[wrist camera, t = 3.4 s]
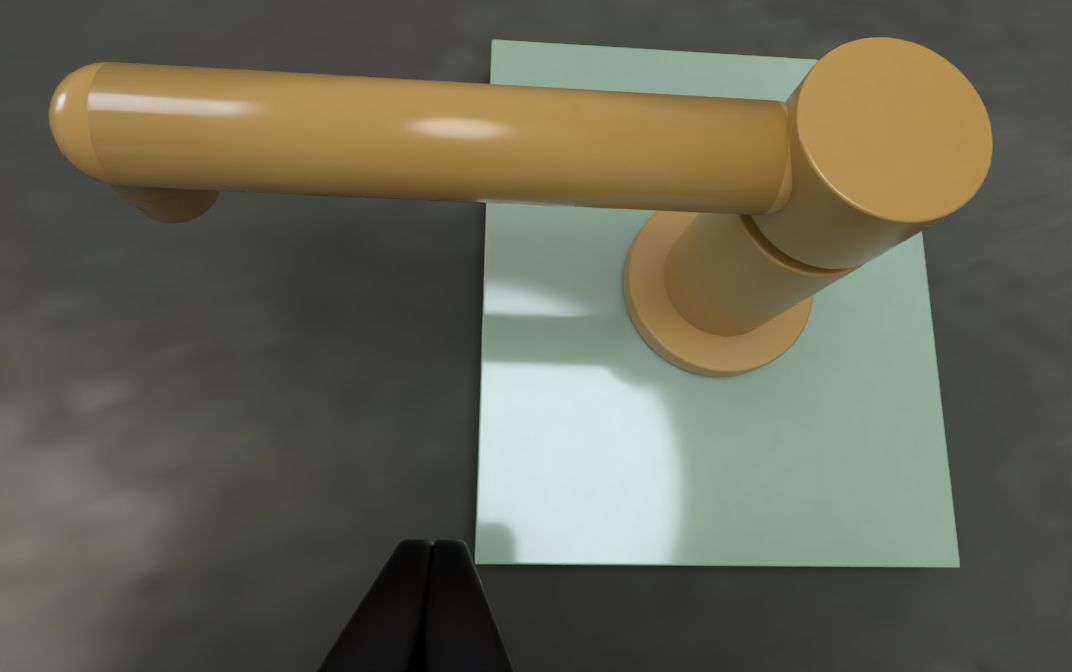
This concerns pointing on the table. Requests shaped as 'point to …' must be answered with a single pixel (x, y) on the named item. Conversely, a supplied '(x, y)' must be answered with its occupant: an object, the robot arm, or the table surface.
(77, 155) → the spout
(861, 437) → the tap deck
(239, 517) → the table surface
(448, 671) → the robot arm
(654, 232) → the tap column
